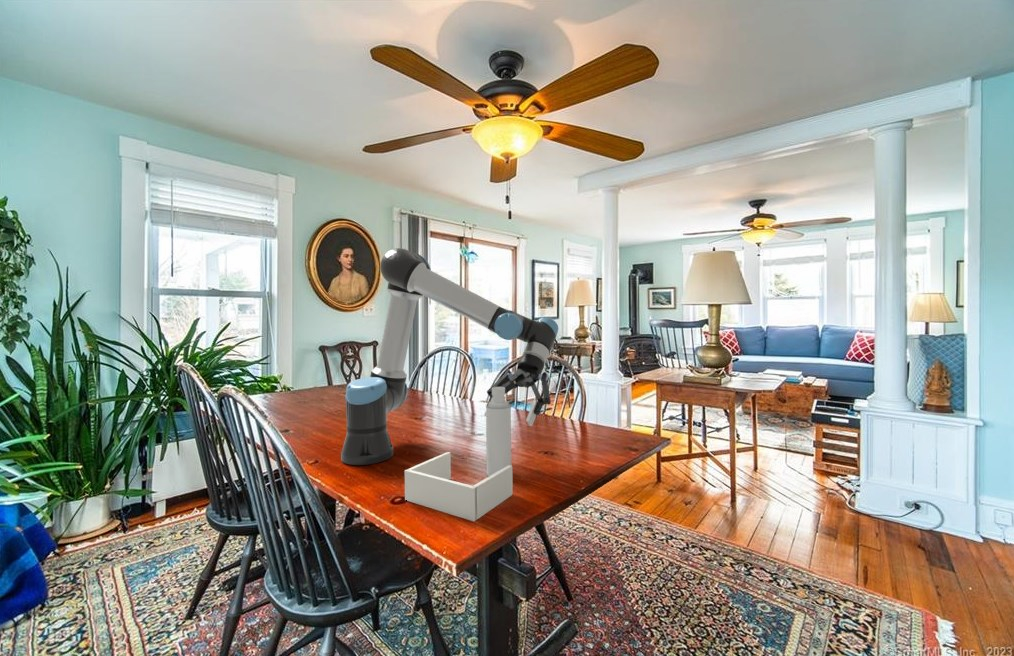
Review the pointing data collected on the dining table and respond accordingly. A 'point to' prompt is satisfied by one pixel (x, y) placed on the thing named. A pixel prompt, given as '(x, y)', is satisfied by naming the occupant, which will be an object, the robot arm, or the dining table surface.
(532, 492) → the dining table surface
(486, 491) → the storage bay
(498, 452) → the white bottle
